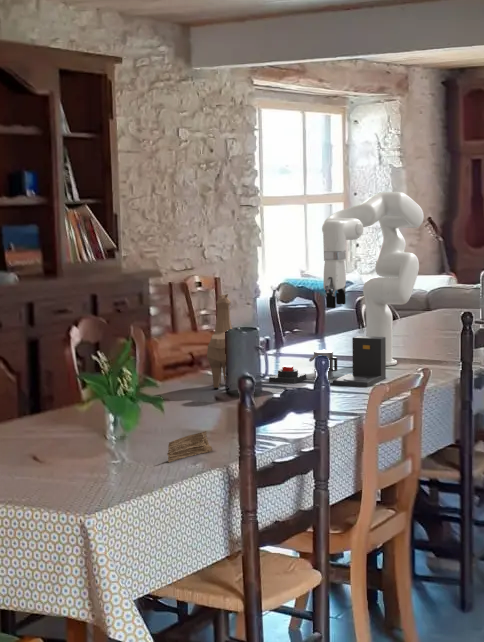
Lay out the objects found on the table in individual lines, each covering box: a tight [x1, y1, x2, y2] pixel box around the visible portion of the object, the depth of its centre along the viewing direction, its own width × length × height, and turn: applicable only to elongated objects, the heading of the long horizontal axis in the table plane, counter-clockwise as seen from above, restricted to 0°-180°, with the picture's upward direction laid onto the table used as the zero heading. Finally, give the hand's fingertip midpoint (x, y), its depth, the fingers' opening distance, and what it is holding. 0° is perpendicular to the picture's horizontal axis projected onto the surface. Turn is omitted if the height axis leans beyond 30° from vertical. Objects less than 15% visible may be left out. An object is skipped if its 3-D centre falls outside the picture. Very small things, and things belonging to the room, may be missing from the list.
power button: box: [281, 365, 294, 371], centre depth 393 cm, size 4×4×2 cm
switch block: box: [268, 368, 307, 385], centre depth 394 cm, size 11×9×4 cm
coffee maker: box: [332, 335, 387, 388], centre depth 389 cm, size 19×12×14 cm, turn 153°
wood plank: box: [166, 430, 213, 463], centre depth 284 cm, size 15×2×5 cm, turn 142°
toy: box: [206, 293, 233, 391], centre depth 382 cm, size 9×20×30 cm, turn 174°
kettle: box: [308, 349, 338, 380], centre depth 398 cm, size 6×10×9 cm, turn 63°
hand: (336, 306), depth 401 cm, fingers open, 9 cm apart
